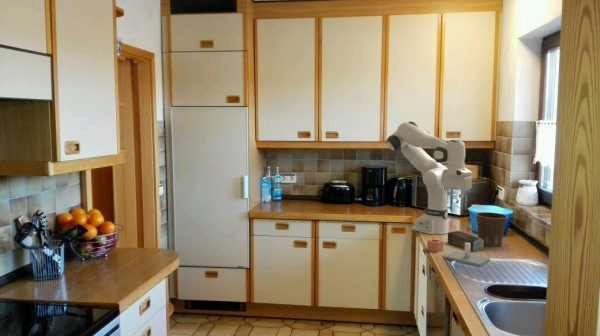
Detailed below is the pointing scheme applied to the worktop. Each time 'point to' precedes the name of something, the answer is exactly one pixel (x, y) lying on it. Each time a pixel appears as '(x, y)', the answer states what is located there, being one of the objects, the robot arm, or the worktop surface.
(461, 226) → the worktop surface
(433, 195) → the robot arm
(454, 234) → the beverage carton
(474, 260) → the post board
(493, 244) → the plant pot
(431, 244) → the collar
